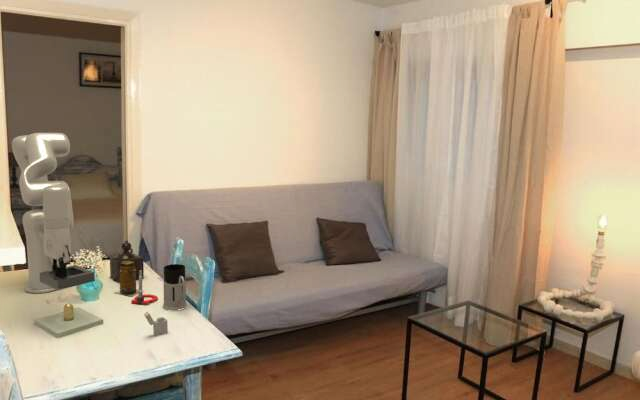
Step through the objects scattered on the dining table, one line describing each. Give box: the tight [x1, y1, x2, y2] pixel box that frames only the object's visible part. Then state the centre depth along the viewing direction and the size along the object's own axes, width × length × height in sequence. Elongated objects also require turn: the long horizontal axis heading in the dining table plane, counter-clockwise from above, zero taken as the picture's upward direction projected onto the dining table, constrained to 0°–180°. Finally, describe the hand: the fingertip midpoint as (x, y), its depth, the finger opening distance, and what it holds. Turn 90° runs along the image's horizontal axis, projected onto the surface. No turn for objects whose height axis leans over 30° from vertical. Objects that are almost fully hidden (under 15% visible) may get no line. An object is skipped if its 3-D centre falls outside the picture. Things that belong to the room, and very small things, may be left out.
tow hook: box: [130, 270, 159, 306], centre depth 190 cm, size 8×13×9 cm
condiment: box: [114, 261, 145, 297], centre depth 198 cm, size 7×8×12 cm
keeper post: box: [62, 302, 74, 321], centre depth 168 cm, size 3×3×6 cm
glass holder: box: [162, 263, 188, 311], centre depth 183 cm, size 9×14×15 cm, turn 34°
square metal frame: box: [40, 264, 96, 291], centre depth 166 cm, size 12×12×3 cm
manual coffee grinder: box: [109, 240, 145, 284], centre depth 212 cm, size 16×11×18 cm
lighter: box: [143, 311, 169, 336], centre depth 162 cm, size 7×2×8 cm, turn 128°
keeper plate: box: [33, 306, 104, 339], centre depth 168 cm, size 16×15×2 cm
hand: (59, 276), depth 169 cm, fingers closed on square metal frame
